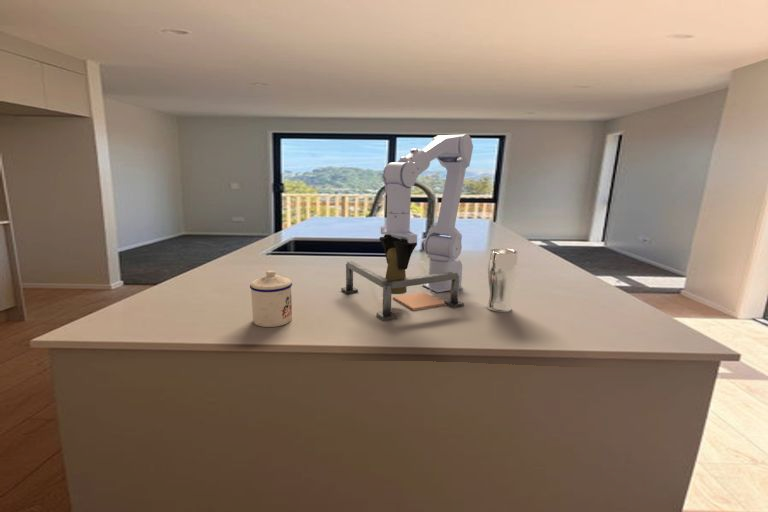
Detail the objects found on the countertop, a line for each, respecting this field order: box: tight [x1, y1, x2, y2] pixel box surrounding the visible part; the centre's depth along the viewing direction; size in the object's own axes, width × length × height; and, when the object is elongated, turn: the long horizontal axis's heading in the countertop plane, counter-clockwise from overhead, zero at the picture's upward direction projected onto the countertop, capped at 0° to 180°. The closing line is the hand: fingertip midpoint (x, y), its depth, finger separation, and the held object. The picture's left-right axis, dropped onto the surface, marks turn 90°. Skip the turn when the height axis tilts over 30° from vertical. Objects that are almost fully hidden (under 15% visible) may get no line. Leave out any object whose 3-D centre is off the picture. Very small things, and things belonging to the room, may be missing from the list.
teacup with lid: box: [249, 269, 293, 328], centre depth 90 cm, size 12×9×12 cm
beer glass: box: [486, 248, 519, 313], centre depth 99 cm, size 7×7×15 cm
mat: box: [392, 291, 446, 312], centre depth 104 cm, size 10×10×1 cm
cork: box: [384, 248, 408, 295], centre depth 99 cm, size 6×6×11 cm
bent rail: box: [340, 260, 465, 322], centre depth 106 cm, size 24×26×9 cm
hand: (397, 266), depth 99 cm, fingers closed on cork, 5 cm apart
